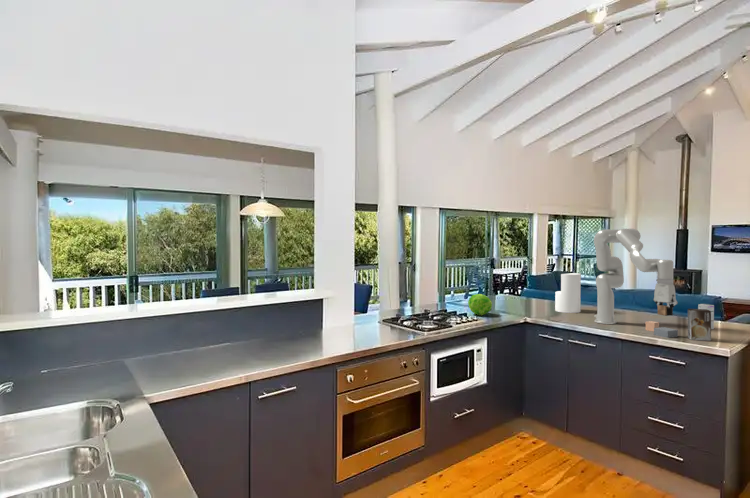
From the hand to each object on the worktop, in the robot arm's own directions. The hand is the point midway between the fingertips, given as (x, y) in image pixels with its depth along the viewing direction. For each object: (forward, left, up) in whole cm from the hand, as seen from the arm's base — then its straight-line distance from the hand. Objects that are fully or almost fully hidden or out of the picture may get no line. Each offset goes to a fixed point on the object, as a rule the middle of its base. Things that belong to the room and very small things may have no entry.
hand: (665, 313), depth 247 cm
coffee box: (+12, +10, -12) cm, 20 cm away
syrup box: (-9, +40, -12) cm, 43 cm away
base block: (0, 0, -13) cm, 13 cm away
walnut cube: (0, 0, -1) cm, 1 cm away
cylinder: (-85, +2, -12) cm, 86 cm away
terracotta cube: (-13, +5, -12) cm, 19 cm away
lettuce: (-88, -68, -12) cm, 112 cm away
